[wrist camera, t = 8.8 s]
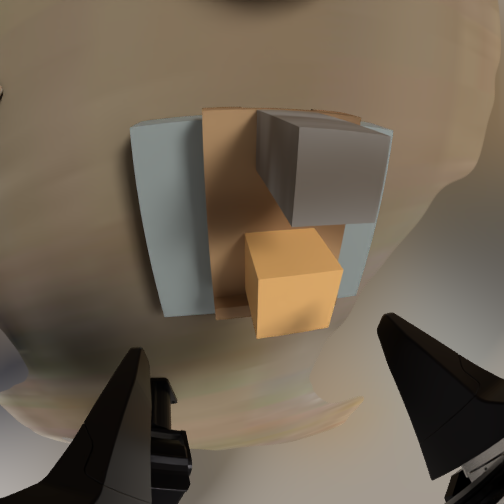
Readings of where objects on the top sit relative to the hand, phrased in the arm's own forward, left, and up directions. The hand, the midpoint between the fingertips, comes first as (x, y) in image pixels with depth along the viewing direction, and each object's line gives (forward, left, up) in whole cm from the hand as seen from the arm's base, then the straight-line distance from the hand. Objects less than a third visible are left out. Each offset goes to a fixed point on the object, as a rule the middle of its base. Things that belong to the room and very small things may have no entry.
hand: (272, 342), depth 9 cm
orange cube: (-2, -2, -7) cm, 8 cm away
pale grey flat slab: (-1, -2, -12) cm, 13 cm away
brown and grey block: (+1, -2, -9) cm, 10 cm away
